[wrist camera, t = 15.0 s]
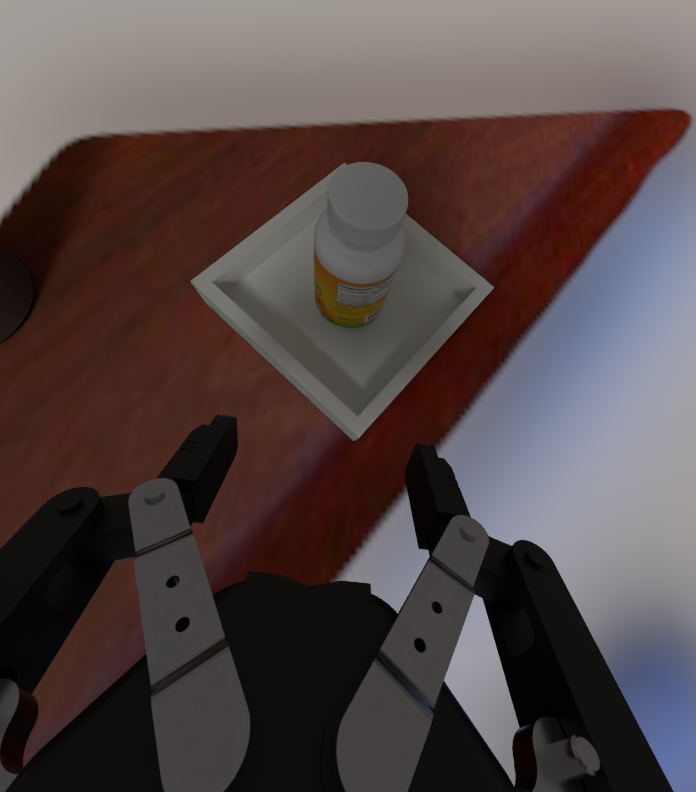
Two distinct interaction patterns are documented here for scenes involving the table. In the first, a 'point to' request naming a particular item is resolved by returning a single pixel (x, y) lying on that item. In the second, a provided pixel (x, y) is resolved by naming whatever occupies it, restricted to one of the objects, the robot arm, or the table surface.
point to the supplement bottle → (358, 244)
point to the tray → (325, 344)
